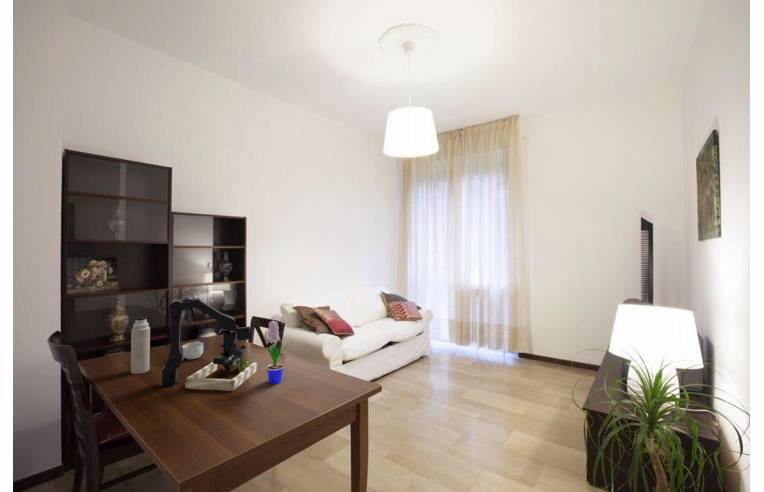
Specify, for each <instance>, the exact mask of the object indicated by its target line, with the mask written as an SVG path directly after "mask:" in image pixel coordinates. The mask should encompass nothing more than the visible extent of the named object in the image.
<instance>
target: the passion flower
mask: <svg viewBox="0 0 764 492" xmlns="http://www.w3.org/2000/svg"><path fill="white" fill-rule="evenodd" d="M235 357H237V356H235ZM249 359H251V361H250V360H249ZM250 362H251V363H254V362H253V357H252V356H251V357H248V358H244V359H243V357H242V358H239V357H237V358H236V359H235V360H234V361H233V363H232V366H231V369H230V371H231V370H232V369H233V367H234V366H236V365H237V367H238V371H239V373H241V372H242V371H243V369H244V370H245V369H246V368H247V367H249V364H250Z"/></svg>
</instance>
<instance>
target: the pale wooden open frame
mask: <svg viewBox="0 0 764 492" xmlns="http://www.w3.org/2000/svg"><path fill="white" fill-rule="evenodd" d="M257 364H258V363H257V362H255V361H254V362H251V364H250V365H248V367H247V368H246V369H245V368H244V370H242V372H239V373H238V374H237V375H236V376H234V377H233V378H231V379H230V378H229V379H228V378H209V377H208V376H210V375H211V374H212V373H215V372H216V371H217V370H218V364H213V361H212V362H211V363H208V364H207V365H206V366H203V367H202V368H201V369H199V370H197V371H196V372H194V373H192V374H191V375H189V376H187V377H186V378H185V383H184V384H185V385H184V386H185V387H184V389H186V388H188V389H190V390H191V389H192V390H211V391H212V390H213V391H233V392H235V390H236V389H237V388H238V387H240V386H241V385H242V384H243V383H245V382H246V381H247V379H249V378H250V377H251V376H252V375H253V374H254V373H256V372H257V367H258V365H257ZM206 377H207V378H206Z"/></svg>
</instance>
